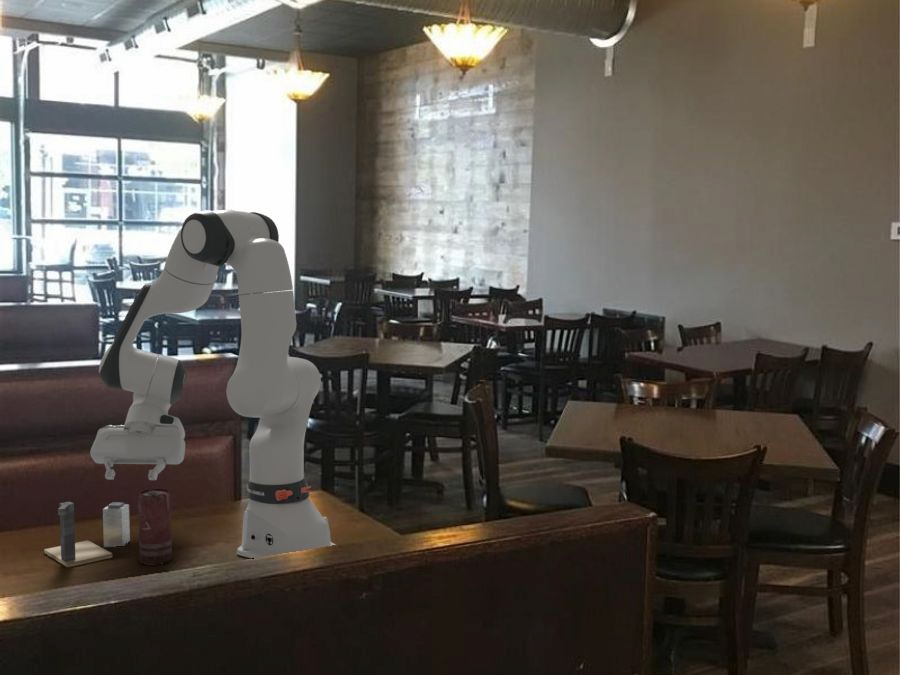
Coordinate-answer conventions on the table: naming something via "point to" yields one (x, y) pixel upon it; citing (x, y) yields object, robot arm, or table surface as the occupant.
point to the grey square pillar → (116, 524)
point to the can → (155, 526)
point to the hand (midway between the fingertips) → (130, 478)
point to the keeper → (69, 549)
